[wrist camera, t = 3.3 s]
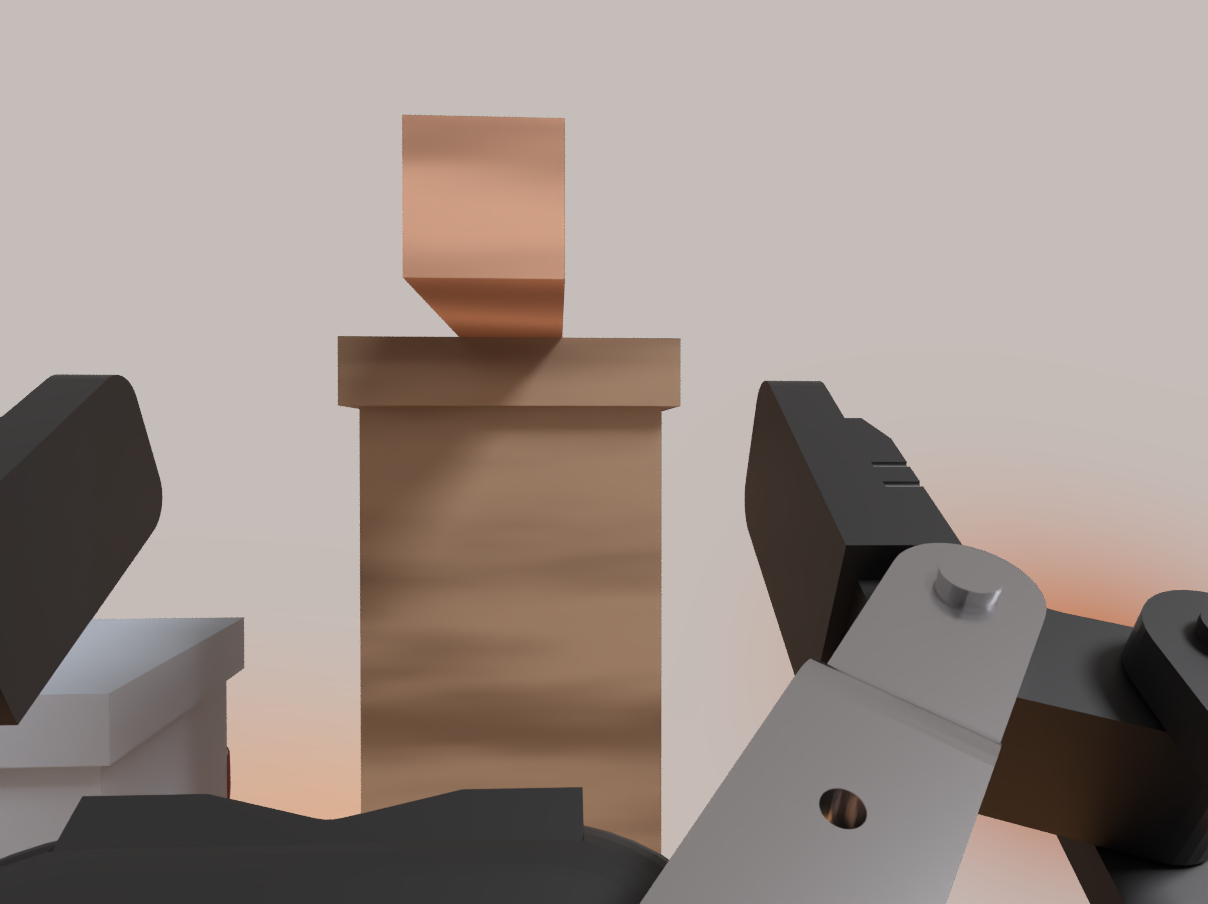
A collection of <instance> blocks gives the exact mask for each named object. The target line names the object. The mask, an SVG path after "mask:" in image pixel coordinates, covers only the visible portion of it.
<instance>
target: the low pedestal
mask: <svg viewBox="0 0 1208 904" xmlns="http://www.w3.org/2000/svg"><path fill="white" fill-rule="evenodd" d="M243 668H244V618H163V619H162V618H158V619H92V620H91V621H90V623H89V624H88V625H87V627H86V628H85V630H84V631H83V633H82V634H81V636H80V637H79V638H78V640H77V641H76V643H75V644H74V646H73V647H72V648H71V650H70V651H69V653H68V654H67V656H66V657H65V658H64V660H63V661H62V663H61V664H60V666H59V667H58V668H57V670H56V671H55V673H54V674H53V676H52V677H51V679H50V680H49V681H48V683H47V684H46V686H45V687H44V689H43V690H42V691H41V693H40V694H39V696H38V697H37V699H36V700H35V701H34V703H33V704H32V706H31V707H30V709H29V710H28V711H27V713H26V714H25V716H24V717H23V719H22V720H21V721H20V723H19V724H18V725H2V726H0V859H1V858H4V857H6V856H9V855H11V854H14V853H17V852H20V851H23V850H26V849H29V848H32V847H35V846H39V845H42V844H45V843H49V842H53V841H57V840H58V839H59V837H60V835H61V833H62V831H63V830H64V828H65V826H66V824H67V823H68V821H69V819H70V817H71V815H72V814H73V812H74V810H75V808H76V807H77V805H78V803H79V801H80V799H81V798H82V796H120V795H175V794H211V795H215V796H219V797H224V798H227V735H226V734H227V732H226V731H227V728H226V727H227V725H226V724H227V723H226V681H227V680H228V679H230V678H231V677H232V676H234V675H235V674H236V673H238V672H239V671H241V670H242V669H243Z"/></svg>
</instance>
